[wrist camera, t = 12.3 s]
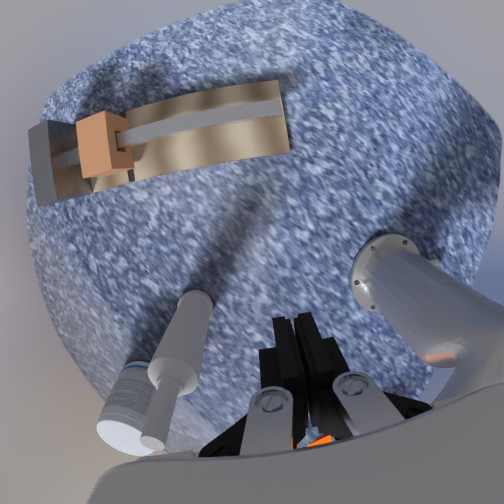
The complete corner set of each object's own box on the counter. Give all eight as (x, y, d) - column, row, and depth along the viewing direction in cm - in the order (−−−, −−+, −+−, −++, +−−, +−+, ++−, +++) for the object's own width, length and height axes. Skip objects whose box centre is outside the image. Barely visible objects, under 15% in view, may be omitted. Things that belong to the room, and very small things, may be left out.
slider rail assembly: (269, 82, 33) (277, 54, 23) (281, 153, 35) (294, 147, 26) (69, 134, 33) (28, 129, 24) (78, 197, 36) (37, 207, 26)
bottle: (175, 290, 40) (109, 421, 16) (209, 285, 40) (171, 424, 16) (184, 321, 42) (137, 458, 18) (217, 317, 42) (193, 461, 18)
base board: (276, 82, 33) (277, 79, 31) (289, 152, 35) (290, 152, 34) (69, 134, 33) (65, 134, 32) (78, 197, 36) (74, 198, 35)
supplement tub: (113, 369, 45) (83, 425, 30) (146, 350, 43) (117, 411, 29) (149, 403, 47) (129, 460, 33) (183, 387, 46) (168, 451, 31)
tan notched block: (127, 119, 31) (104, 110, 25) (134, 168, 33) (111, 168, 27) (102, 128, 32) (76, 122, 25) (108, 175, 33) (82, 178, 27)
